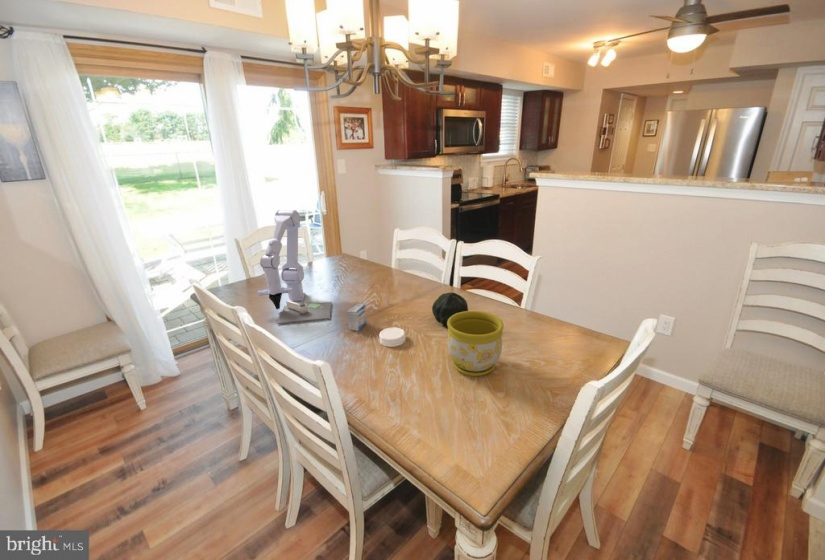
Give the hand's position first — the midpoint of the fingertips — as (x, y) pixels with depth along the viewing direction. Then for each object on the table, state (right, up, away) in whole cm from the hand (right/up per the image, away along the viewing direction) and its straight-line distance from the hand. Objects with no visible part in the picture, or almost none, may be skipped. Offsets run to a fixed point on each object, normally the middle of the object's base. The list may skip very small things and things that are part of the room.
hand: (278, 308), depth 167 cm
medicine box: (+39, -7, -15) cm, 43 cm away
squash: (+79, -5, -14) cm, 80 cm away
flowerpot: (+83, -16, -45) cm, 96 cm away
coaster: (+55, -11, -27) cm, 62 cm away
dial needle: (+9, -1, -1) cm, 9 cm away
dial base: (+14, -2, -2) cm, 14 cm away
